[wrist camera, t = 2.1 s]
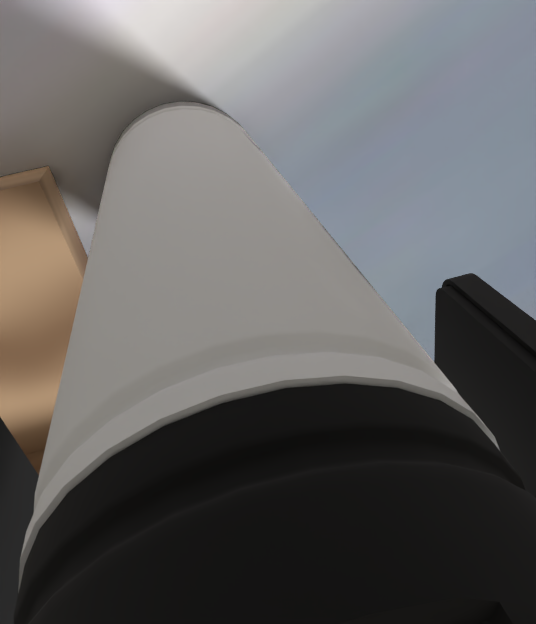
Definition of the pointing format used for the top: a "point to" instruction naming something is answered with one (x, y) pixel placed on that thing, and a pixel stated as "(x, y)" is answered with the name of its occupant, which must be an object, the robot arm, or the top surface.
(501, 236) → the top surface
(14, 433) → the open box
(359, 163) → the top surface
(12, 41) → the top surface
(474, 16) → the top surface
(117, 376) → the travel mug
